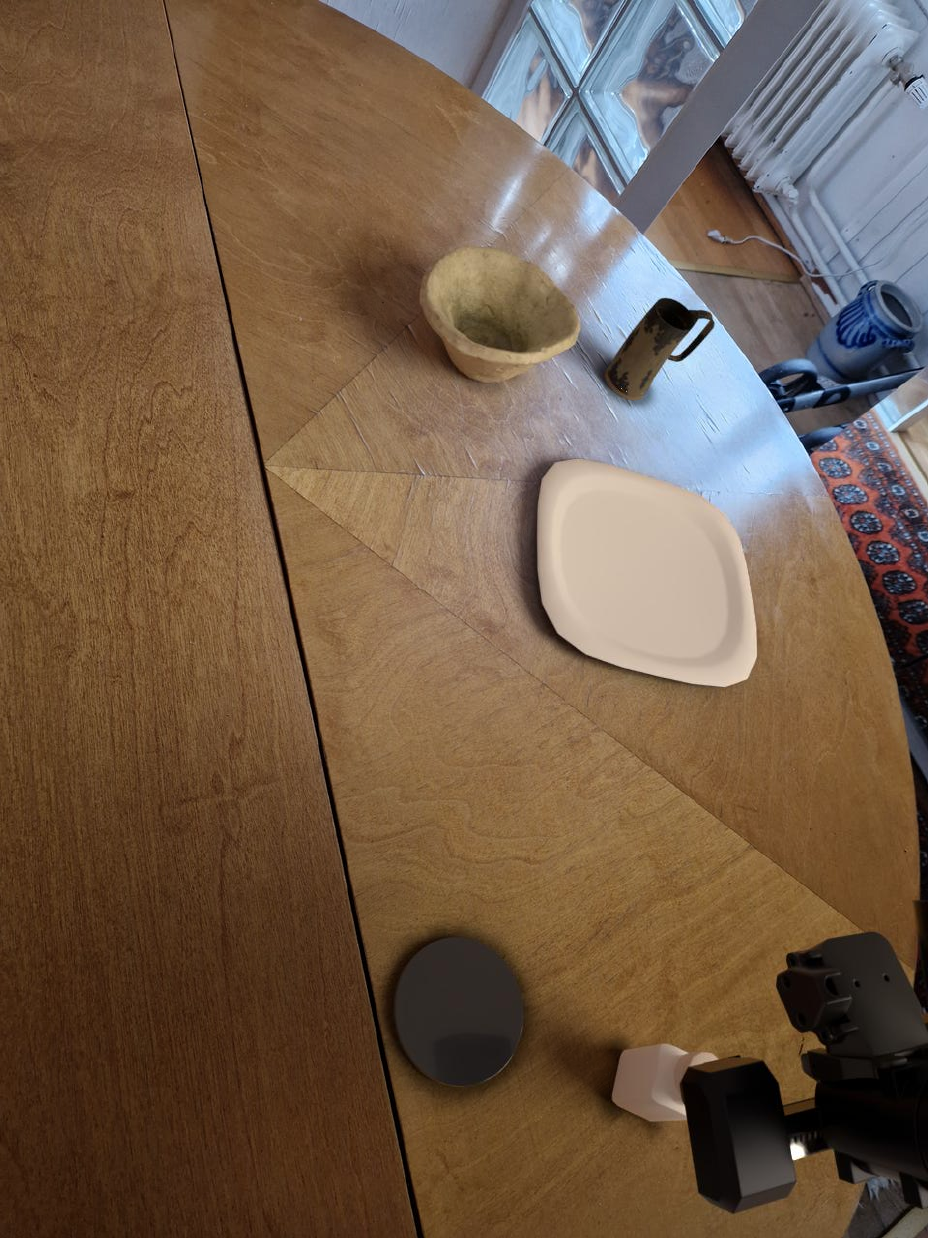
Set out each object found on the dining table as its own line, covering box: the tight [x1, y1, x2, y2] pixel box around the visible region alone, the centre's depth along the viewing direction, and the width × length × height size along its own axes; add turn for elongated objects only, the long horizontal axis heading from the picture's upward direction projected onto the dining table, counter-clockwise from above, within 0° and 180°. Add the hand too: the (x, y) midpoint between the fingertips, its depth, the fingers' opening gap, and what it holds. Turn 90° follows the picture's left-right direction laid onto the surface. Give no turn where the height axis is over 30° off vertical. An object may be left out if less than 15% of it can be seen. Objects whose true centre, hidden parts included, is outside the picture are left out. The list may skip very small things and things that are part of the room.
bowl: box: [418, 246, 581, 384], centre depth 95 cm, size 14×18×15 cm
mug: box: [604, 297, 716, 401], centre depth 103 cm, size 8×6×12 cm
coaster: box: [392, 936, 525, 1088], centre depth 65 cm, size 10×10×1 cm
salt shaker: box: [611, 1043, 720, 1123], centre depth 63 cm, size 4×4×10 cm
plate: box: [536, 458, 758, 689], centre depth 92 cm, size 25×25×2 cm
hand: (744, 1076), depth 55 cm, fingers open, 9 cm apart
